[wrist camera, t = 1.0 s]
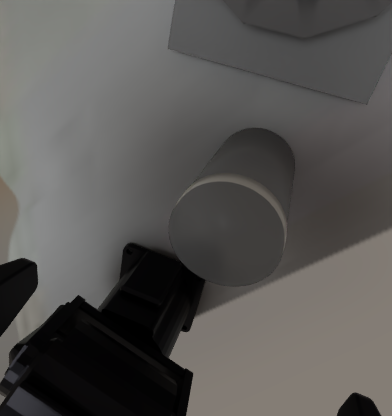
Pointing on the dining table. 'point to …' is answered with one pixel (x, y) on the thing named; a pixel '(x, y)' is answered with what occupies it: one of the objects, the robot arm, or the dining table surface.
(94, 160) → the dining table surface
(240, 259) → the grey cylinder
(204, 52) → the grey notched ring
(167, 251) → the dining table surface
